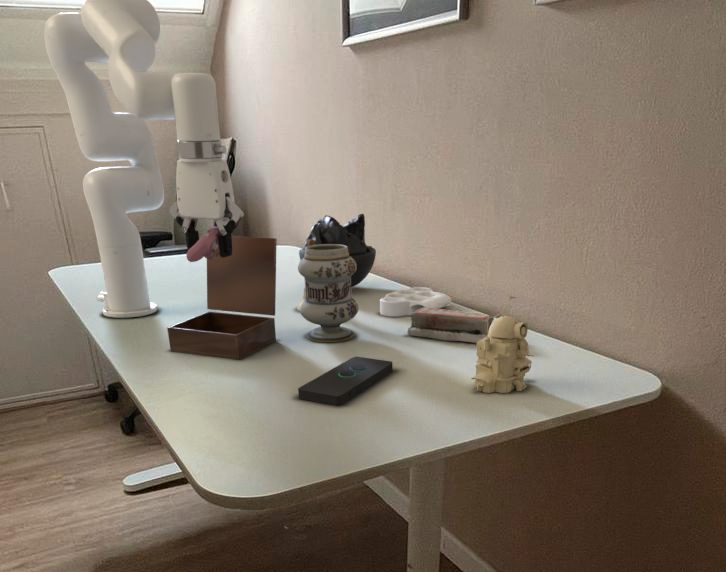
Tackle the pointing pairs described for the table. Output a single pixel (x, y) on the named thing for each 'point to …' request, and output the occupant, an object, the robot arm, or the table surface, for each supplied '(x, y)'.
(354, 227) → the bowl of black rocks
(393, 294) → the white lobed tray
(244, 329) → the box
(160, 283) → the table surface
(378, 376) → the smart home device
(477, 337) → the packaged product
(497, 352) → the robot
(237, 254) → the box lid
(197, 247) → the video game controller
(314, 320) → the apothecary jar
